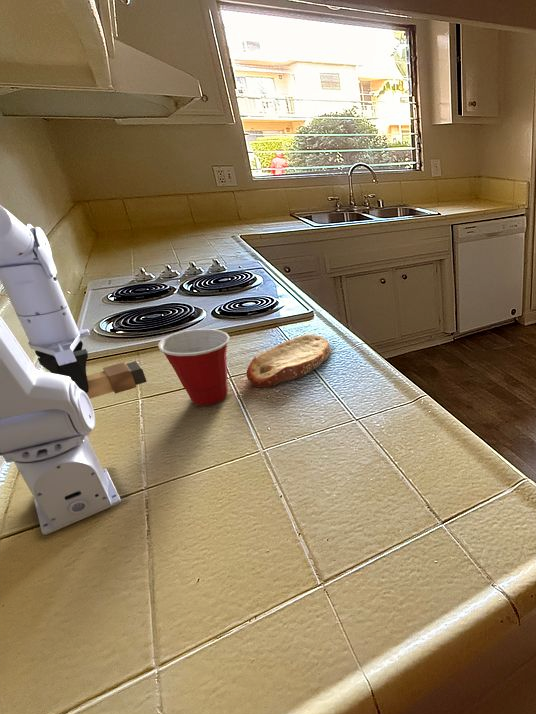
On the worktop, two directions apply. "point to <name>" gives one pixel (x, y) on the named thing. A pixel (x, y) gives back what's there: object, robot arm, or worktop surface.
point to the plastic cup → (199, 363)
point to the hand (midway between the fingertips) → (78, 390)
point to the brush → (115, 379)
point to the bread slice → (288, 361)
